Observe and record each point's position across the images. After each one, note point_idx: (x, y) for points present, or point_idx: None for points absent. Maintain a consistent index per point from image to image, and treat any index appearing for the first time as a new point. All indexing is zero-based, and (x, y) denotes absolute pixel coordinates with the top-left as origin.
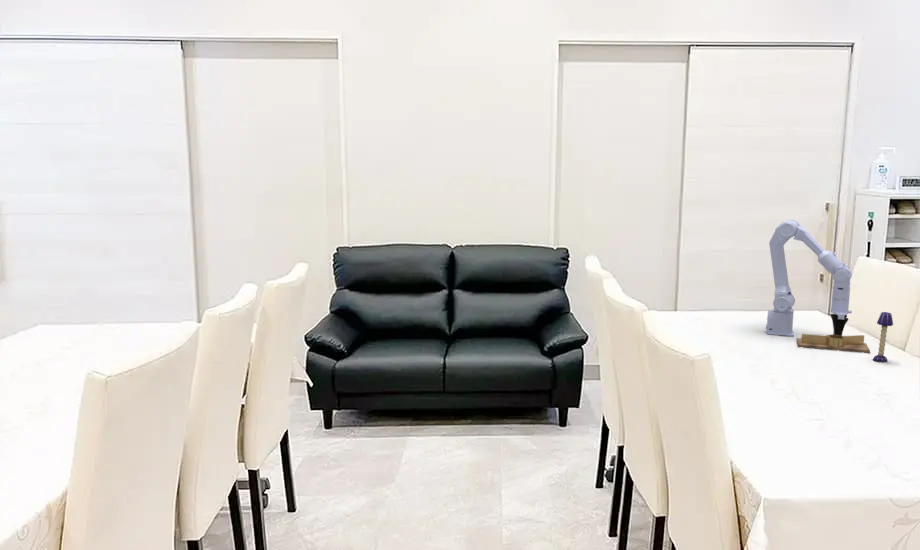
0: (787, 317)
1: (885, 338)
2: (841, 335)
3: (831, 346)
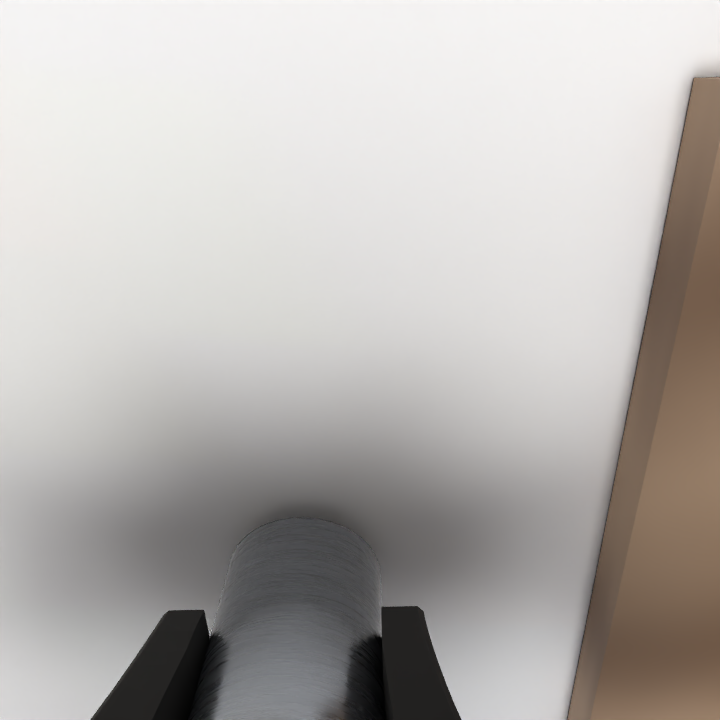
0: None
1: None
2: (347, 591)
3: None
